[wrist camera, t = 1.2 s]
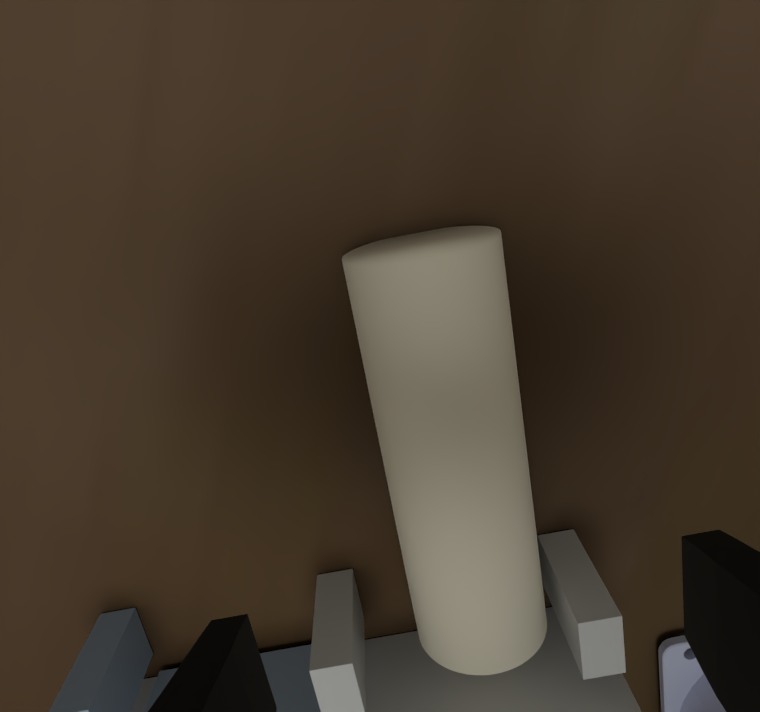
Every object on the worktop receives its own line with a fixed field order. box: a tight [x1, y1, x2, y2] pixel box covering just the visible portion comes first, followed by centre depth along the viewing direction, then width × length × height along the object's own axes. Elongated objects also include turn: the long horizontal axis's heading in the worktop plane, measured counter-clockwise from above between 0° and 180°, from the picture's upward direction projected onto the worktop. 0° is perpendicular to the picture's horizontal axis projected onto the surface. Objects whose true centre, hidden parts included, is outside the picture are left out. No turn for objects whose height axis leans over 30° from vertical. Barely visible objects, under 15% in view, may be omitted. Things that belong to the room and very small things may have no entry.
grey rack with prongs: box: [49, 529, 641, 712], centre depth 19 cm, size 16×4×5 cm, turn 100°
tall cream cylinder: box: [342, 226, 547, 675], centre depth 18 cm, size 12×4×4 cm, turn 10°
